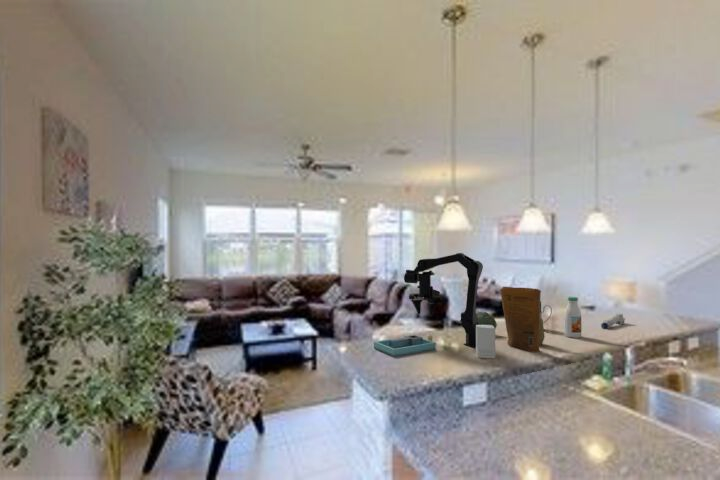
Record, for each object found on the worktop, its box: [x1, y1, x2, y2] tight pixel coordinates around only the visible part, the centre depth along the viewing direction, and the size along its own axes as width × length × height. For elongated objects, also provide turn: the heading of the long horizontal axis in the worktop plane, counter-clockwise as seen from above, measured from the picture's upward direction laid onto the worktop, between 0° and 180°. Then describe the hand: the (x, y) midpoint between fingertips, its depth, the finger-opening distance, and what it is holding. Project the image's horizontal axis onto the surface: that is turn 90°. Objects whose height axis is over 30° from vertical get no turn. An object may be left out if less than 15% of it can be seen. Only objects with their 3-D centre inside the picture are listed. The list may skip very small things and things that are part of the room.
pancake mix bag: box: [499, 286, 542, 353], centre depth 191 cm, size 7×19×28 cm, turn 36°
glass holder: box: [540, 300, 553, 324], centre depth 230 cm, size 9×14×15 cm, turn 43°
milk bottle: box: [563, 296, 582, 339], centre depth 213 cm, size 8×8×20 cm
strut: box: [388, 334, 424, 349], centre depth 191 cm, size 16×6×4 cm, turn 120°
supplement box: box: [475, 325, 496, 359], centre depth 179 cm, size 7×7×13 cm
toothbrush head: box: [600, 312, 626, 330], centre depth 238 cm, size 5×7×25 cm
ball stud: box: [427, 334, 433, 342], centre depth 202 cm, size 2×2×4 cm
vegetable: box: [476, 311, 498, 330], centre depth 221 cm, size 12×13×15 cm
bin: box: [373, 336, 437, 357], centre depth 191 cm, size 16×23×3 cm
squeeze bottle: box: [538, 314, 546, 346], centre depth 198 cm, size 8×8×18 cm
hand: (425, 315), depth 209 cm, fingers open, 9 cm apart
